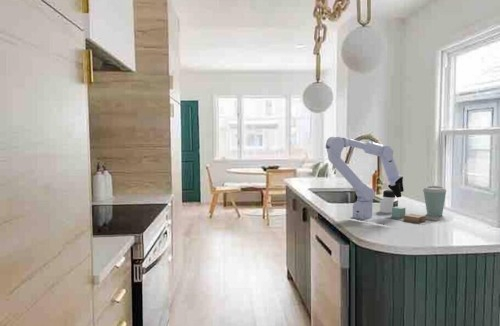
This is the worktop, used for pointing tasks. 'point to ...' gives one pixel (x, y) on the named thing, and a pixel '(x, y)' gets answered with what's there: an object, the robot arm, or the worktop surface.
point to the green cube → (398, 212)
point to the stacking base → (413, 219)
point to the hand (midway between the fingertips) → (400, 194)
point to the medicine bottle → (388, 201)
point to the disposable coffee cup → (434, 199)
